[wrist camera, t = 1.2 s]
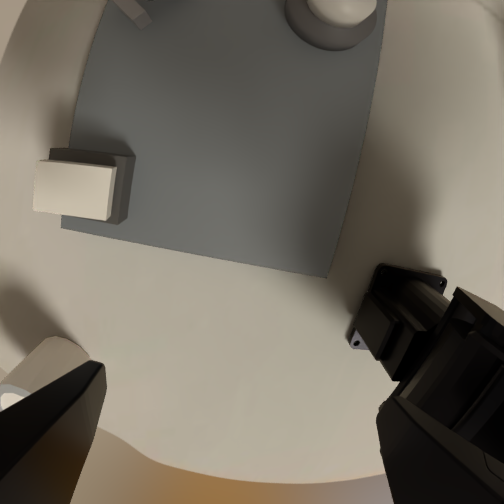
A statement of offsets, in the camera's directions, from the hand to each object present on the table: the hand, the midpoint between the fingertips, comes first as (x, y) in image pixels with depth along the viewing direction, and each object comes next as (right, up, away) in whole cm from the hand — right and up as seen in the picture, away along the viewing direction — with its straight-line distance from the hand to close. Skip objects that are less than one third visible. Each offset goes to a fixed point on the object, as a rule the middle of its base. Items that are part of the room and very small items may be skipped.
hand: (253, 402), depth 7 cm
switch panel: (-2, +13, +8) cm, 15 cm away
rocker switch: (-9, +7, +6) cm, 12 cm away
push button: (+4, +16, +4) cm, 18 cm away
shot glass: (-15, -5, +14) cm, 21 cm away
